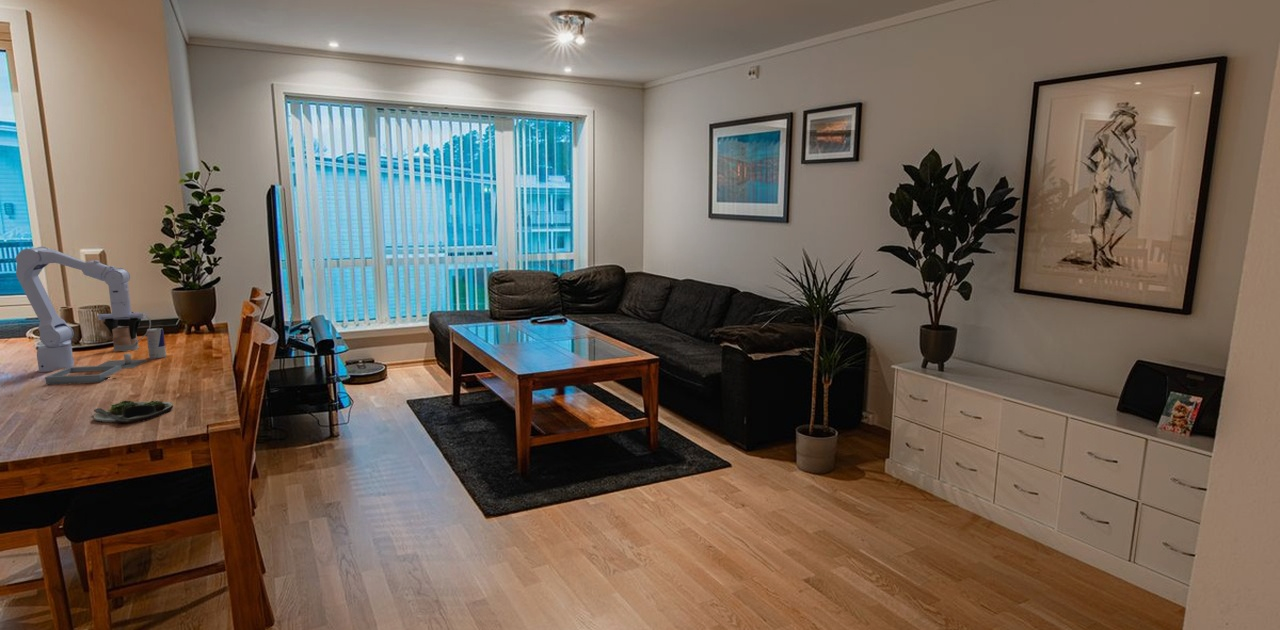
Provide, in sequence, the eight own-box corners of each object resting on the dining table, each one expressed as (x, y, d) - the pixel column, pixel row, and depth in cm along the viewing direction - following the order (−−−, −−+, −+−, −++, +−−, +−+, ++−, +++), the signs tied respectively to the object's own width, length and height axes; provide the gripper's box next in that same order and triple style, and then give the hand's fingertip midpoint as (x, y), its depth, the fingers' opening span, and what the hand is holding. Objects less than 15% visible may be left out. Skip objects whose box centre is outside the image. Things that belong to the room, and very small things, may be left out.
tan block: (114, 345, 250) (112, 329, 249) (123, 341, 256) (121, 325, 255) (129, 344, 251) (127, 328, 250) (138, 341, 258) (136, 325, 257)
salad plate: (70, 424, 193) (67, 408, 192) (124, 405, 210) (122, 390, 209) (133, 427, 190) (131, 411, 190) (182, 408, 208) (180, 393, 207)
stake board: (88, 372, 245) (86, 360, 244) (109, 363, 259) (108, 351, 258) (132, 370, 248) (131, 358, 247) (151, 361, 261) (150, 350, 261)
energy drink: (169, 358, 267) (166, 328, 265) (159, 361, 262) (155, 330, 260) (157, 357, 267) (153, 327, 265) (146, 361, 262) (142, 330, 260)
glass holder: (119, 347, 285) (114, 311, 282) (158, 345, 288) (154, 310, 285) (108, 352, 276) (104, 315, 274) (149, 350, 280) (144, 314, 277)
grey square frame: (46, 384, 230) (45, 377, 229) (70, 373, 243) (69, 367, 243) (100, 382, 233) (99, 375, 233) (122, 371, 246) (121, 365, 246)
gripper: (148, 300, 256) (152, 335, 258) (103, 300, 253) (107, 337, 255) (139, 302, 249) (143, 339, 251) (92, 303, 246) (97, 341, 248)
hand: (124, 338), depth 253 cm, fingers closed on tan block, 5 cm apart
